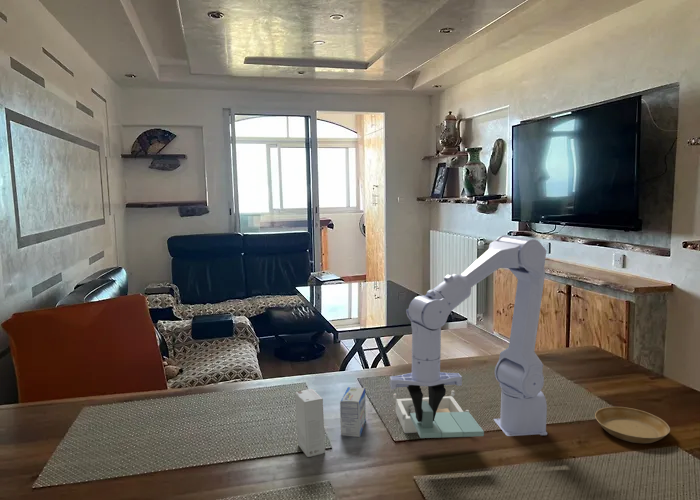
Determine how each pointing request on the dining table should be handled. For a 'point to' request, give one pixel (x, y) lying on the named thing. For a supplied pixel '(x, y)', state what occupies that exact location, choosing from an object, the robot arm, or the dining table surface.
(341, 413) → the medicine box
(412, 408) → the metal roller
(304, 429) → the skincare box
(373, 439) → the dining table surface
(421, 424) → the three-panel mint board
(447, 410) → the oak block
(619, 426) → the plant saucer
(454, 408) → the tub
